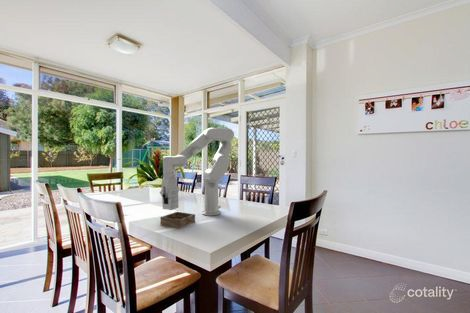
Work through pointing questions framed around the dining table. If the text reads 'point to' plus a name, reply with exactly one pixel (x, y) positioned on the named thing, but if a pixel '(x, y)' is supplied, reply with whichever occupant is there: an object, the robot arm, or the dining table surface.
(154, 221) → the dining table surface
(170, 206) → the supplement box
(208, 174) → the robot arm
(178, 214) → the wooden shadow box
